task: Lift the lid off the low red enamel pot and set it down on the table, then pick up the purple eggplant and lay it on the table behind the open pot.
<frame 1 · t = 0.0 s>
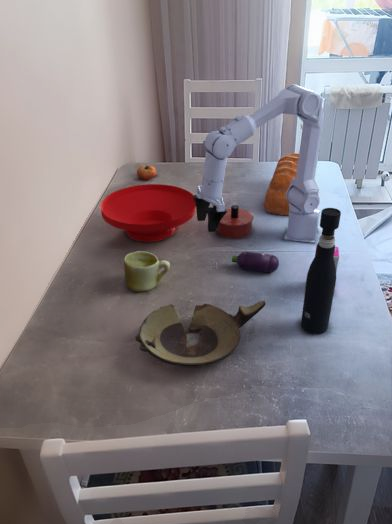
hand: (206, 225, 137), 11 cm above the table, tool pointing down, fingers open, 7 cm apart
pot lid: (234, 218, 154), point 4 cm above the table, touching pot
olive round shallow dish: (202, 346, 112), on the table
mug: (148, 284, 134), on the table
black bottle: (314, 326, 117), on the table
supplement box: (321, 288, 129), on the table
eggplant: (257, 269, 138), on the table
bread: (289, 197, 176), on the table
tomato: (147, 177, 196), on the table
pot: (234, 230, 157), on the table
bowl: (151, 231, 159), on the table
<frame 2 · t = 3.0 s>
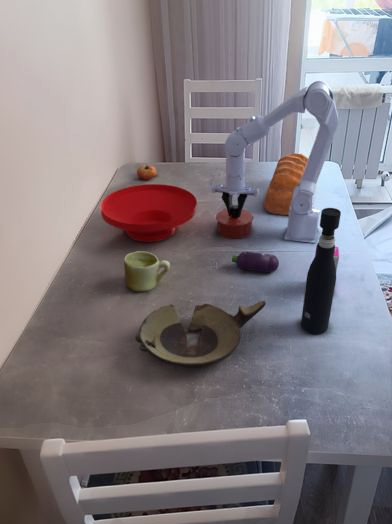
hand: (234, 215, 154), 5 cm above the table, tool pointing down, fingers closed on pot lid, 2 cm apart
pot lid: (234, 218, 154), point 4 cm above the table, touching gripper, pot
everything else where it was.
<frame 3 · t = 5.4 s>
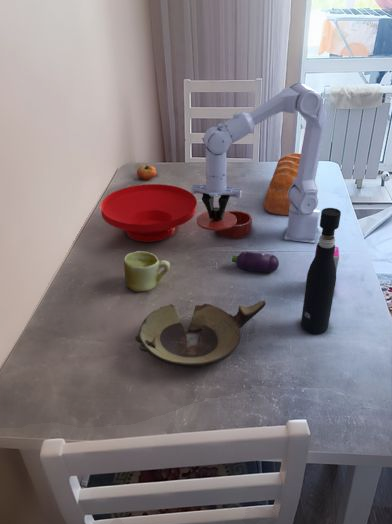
hand: (216, 218, 143), 10 cm above the table, tool pointing down, fingers closed on pot lid, 2 cm apart
pot lid: (216, 221, 144), point 9 cm above the table, touching gripper
everything else where it was.
when the fingers open (2 cm above the table, at t = 7.5 s): pot lid stays where it is, point 1 cm above the table.
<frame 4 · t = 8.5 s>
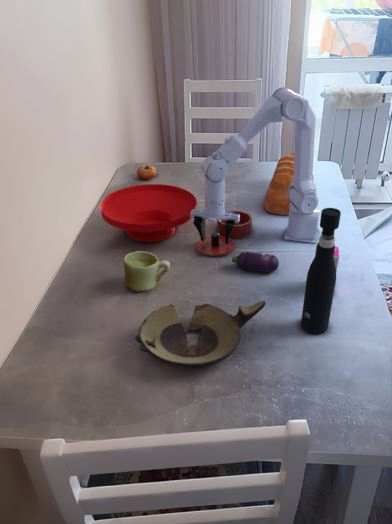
hand: (215, 241, 147), 2 cm above the table, tool pointing down, fingers open, 7 cm apart
pot lid: (215, 246, 148), point 1 cm above the table
everything else where it was.
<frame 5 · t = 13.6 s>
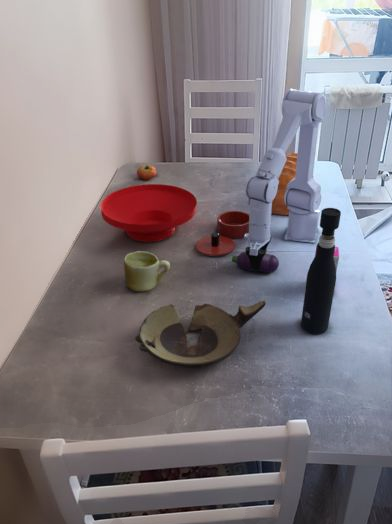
hand: (257, 265, 137), 1 cm above the table, tool pointing down, fingers closed on eggplant, 5 cm apart
eggplant: (257, 269, 138), on the table, touching gripper
everything else where it was.
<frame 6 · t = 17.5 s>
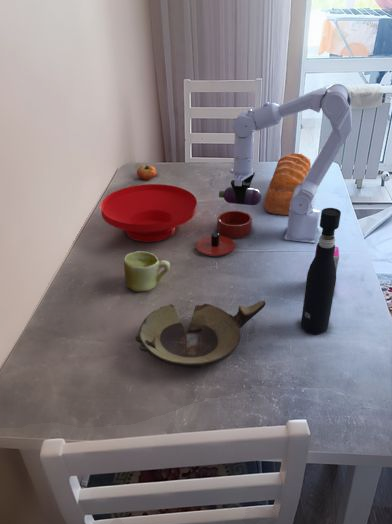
hand: (242, 199, 151), 10 cm above the table, tool pointing down, fingers closed on eggplant, 5 cm apart
eggplant: (242, 203, 152), point 9 cm above the table, touching gripper
everything else where it was.
when the fingers open (1 cm above the table, at t = 21.2 s): eggplant stays where it is, on the table.
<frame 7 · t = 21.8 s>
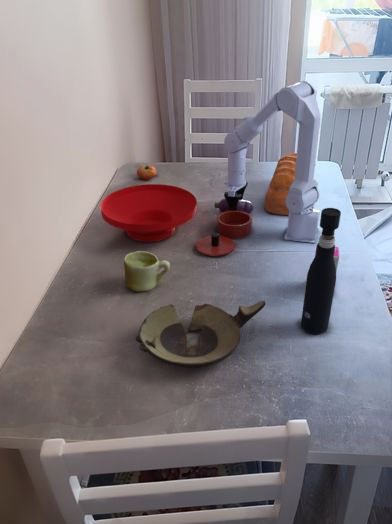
hand: (235, 208, 165), 2 cm above the table, tool pointing down, fingers open, 7 cm apart
eggplant: (235, 213, 167), on the table
everything else where it was.
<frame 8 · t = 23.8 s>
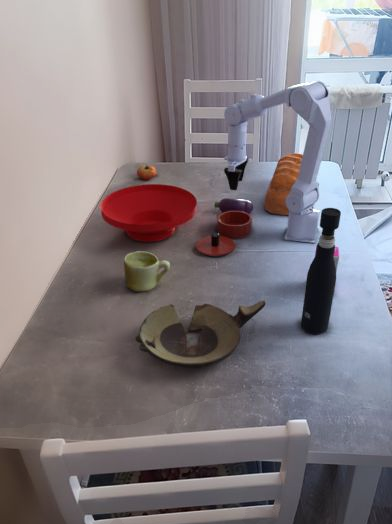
hand: (236, 185, 160), 10 cm above the table, tool pointing down, fingers open, 7 cm apart
eggplant: (235, 213, 167), on the table, tilted 10°
everything else where it was.
at the end: pot lid inside the target area on the table beside the pot (0.0 cm from its centre), point 0.6 cm above the table; eggplant inside the target area on the table beside the pot (0.8 cm from its centre), on the table; the gripper is holding nothing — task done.
